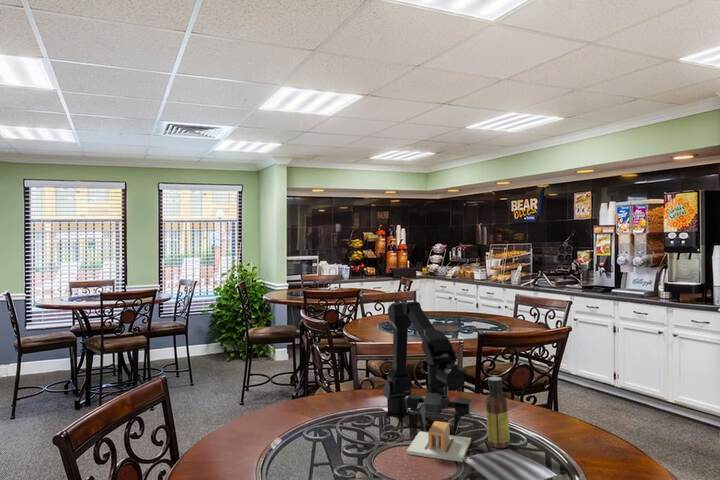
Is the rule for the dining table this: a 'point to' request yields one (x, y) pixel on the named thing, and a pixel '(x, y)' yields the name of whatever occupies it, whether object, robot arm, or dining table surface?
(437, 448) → the board
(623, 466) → the dining table surface
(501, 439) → the sauce bottle
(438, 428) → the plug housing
